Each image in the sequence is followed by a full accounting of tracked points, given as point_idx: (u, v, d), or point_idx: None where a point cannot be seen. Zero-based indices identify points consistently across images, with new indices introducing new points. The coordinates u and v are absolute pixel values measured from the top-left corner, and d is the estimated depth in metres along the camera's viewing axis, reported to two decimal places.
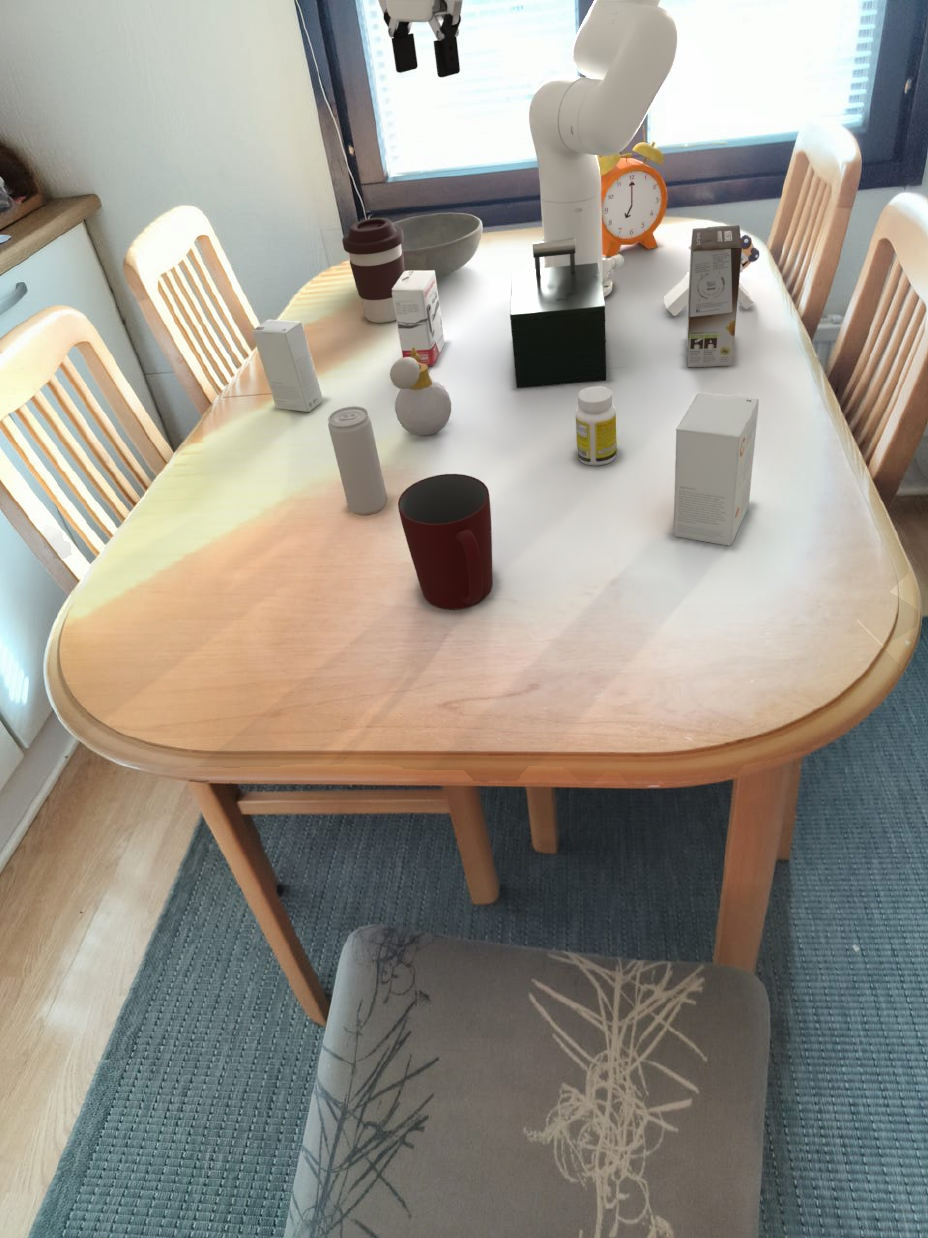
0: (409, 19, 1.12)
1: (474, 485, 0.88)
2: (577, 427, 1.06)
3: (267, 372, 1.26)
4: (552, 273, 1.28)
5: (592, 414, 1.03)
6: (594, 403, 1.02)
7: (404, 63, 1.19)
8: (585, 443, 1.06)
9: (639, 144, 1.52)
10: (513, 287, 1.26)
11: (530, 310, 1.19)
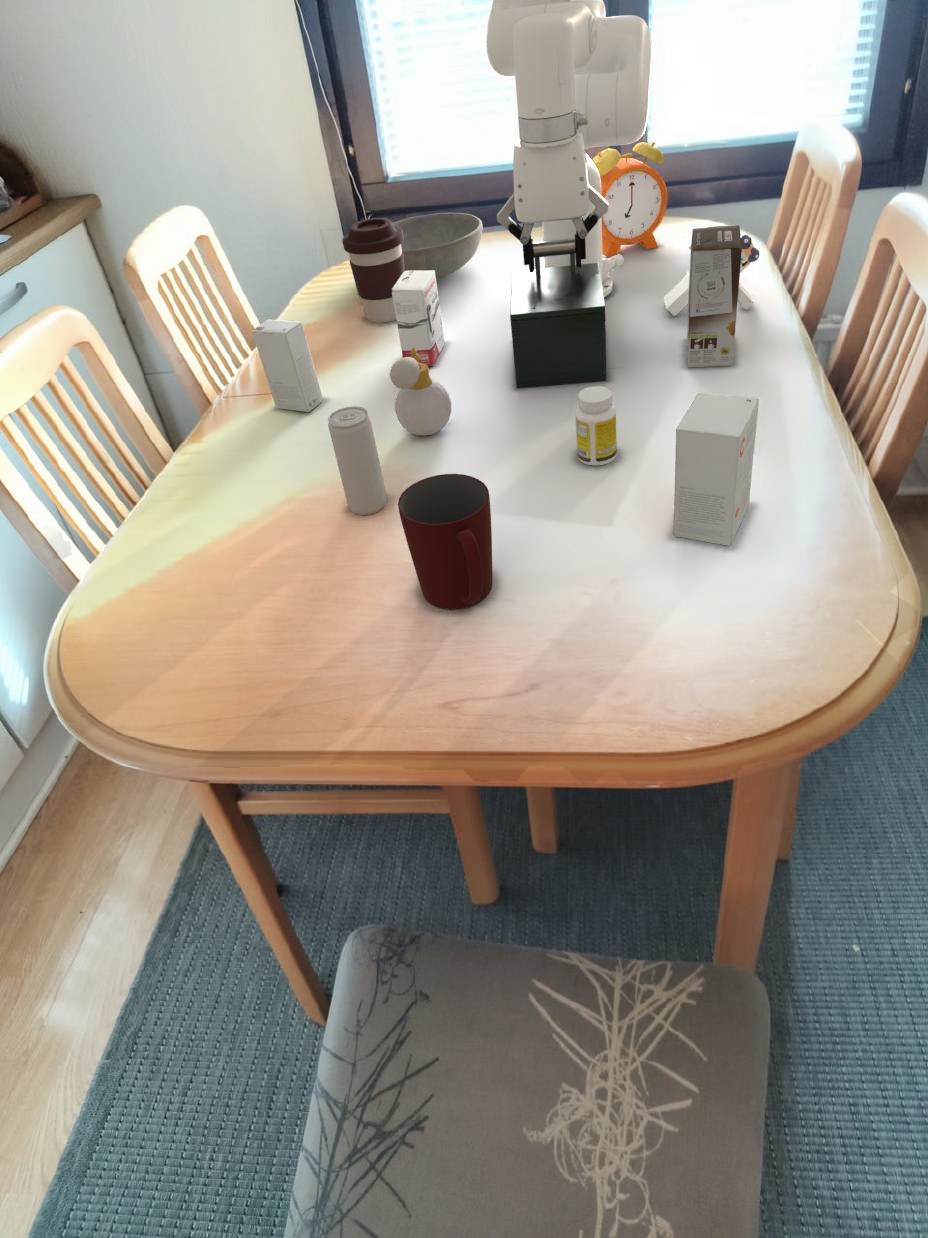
0: (555, 219, 1.22)
1: (474, 485, 0.88)
2: (577, 427, 1.06)
3: (267, 372, 1.26)
4: (552, 273, 1.28)
5: (592, 414, 1.03)
6: (594, 403, 1.02)
7: None
8: (585, 443, 1.06)
9: (639, 144, 1.52)
10: (513, 287, 1.26)
11: (530, 310, 1.19)
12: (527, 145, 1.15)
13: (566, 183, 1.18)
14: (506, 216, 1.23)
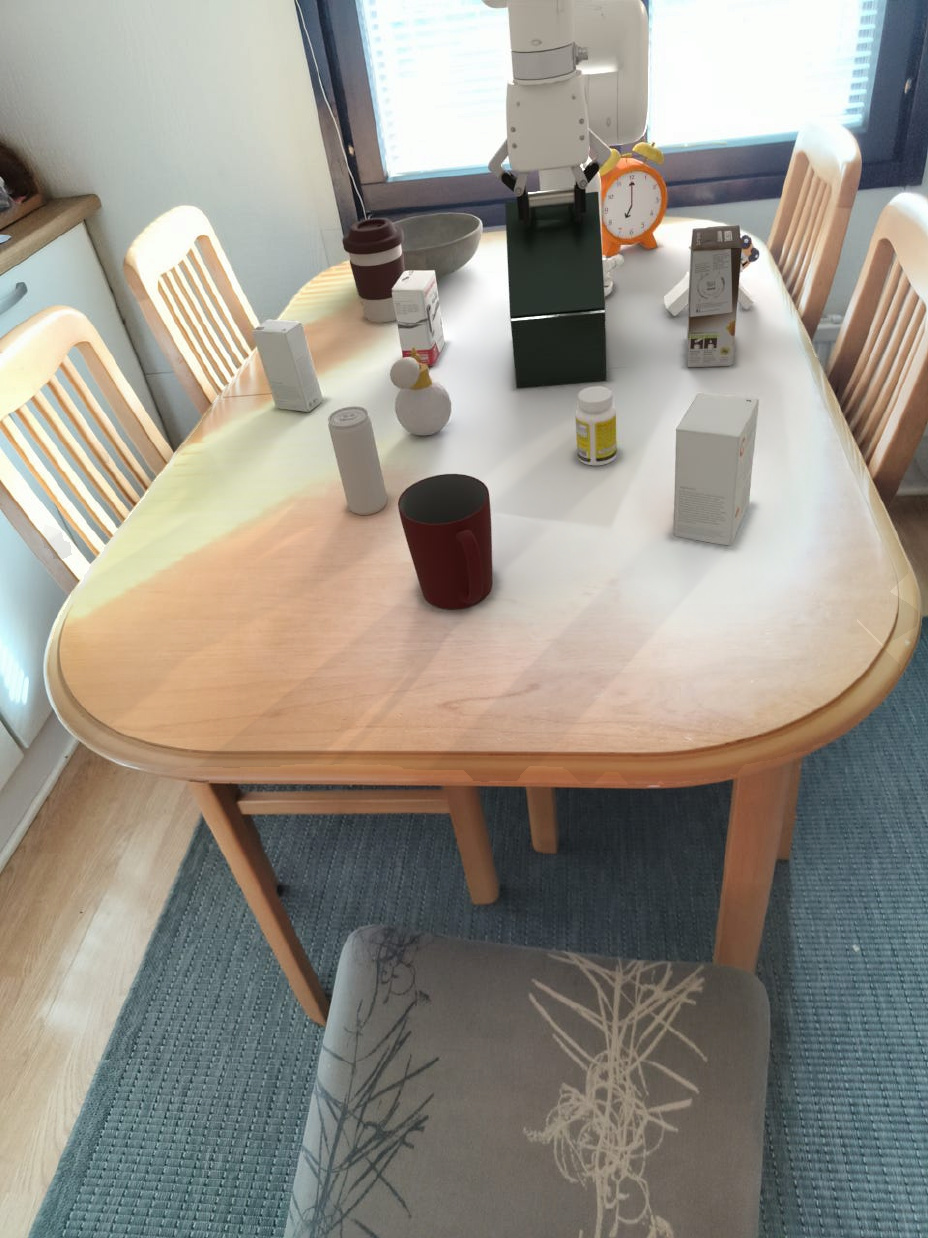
0: (552, 167, 1.11)
1: (474, 485, 0.88)
2: (577, 427, 1.06)
3: (267, 372, 1.26)
4: (549, 214, 1.19)
5: (592, 414, 1.03)
6: (594, 403, 1.02)
7: (529, 218, 1.16)
8: (585, 443, 1.06)
9: (639, 144, 1.52)
10: (508, 246, 1.19)
11: (530, 308, 1.18)
12: (521, 82, 1.04)
13: (564, 126, 1.07)
14: (498, 164, 1.12)
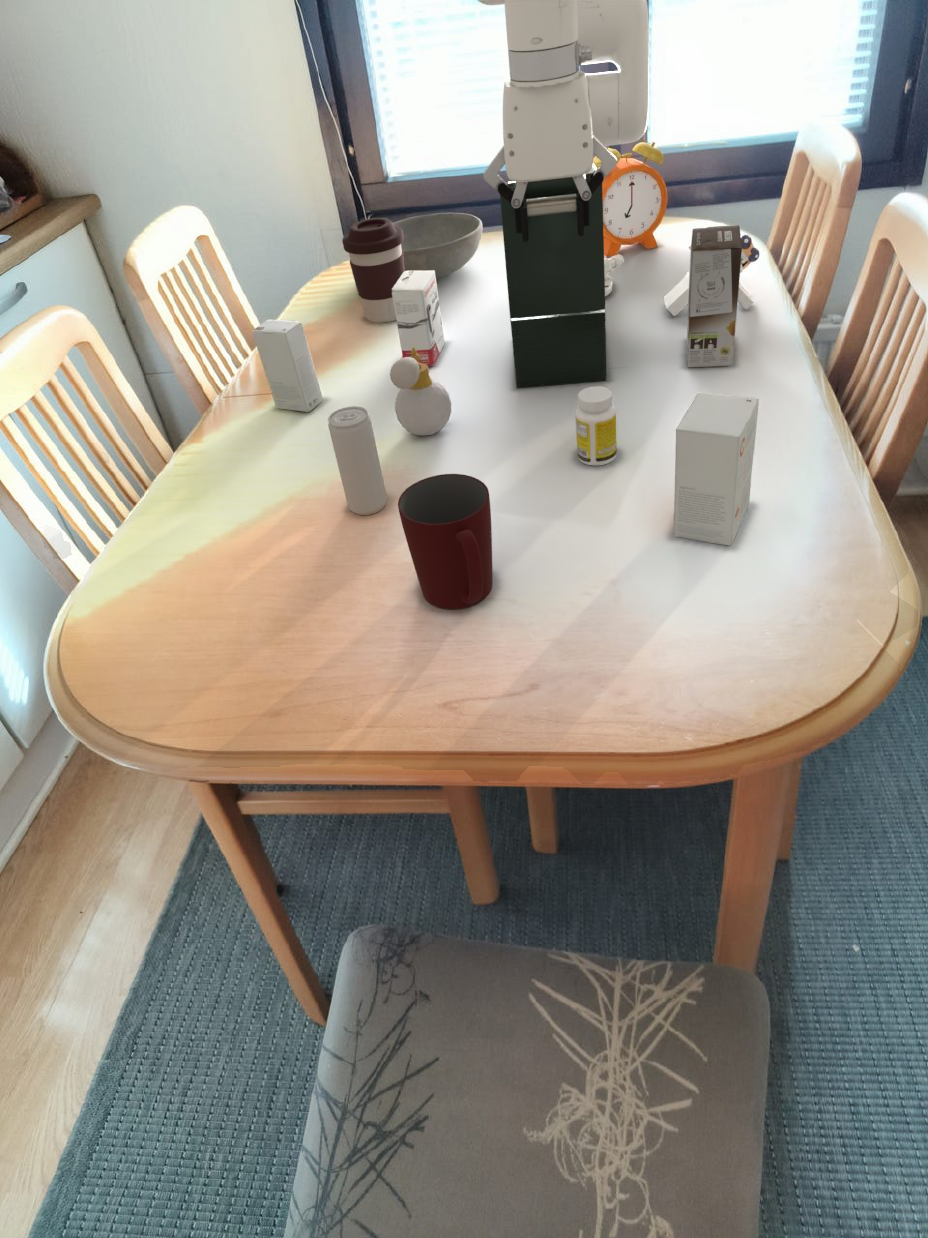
0: (553, 177, 1.02)
1: (474, 485, 0.88)
2: (577, 427, 1.06)
3: (267, 372, 1.26)
4: None
5: (592, 414, 1.03)
6: (594, 403, 1.02)
7: None
8: (585, 443, 1.06)
9: (639, 144, 1.52)
10: (505, 240, 1.13)
11: (530, 310, 1.18)
12: (519, 85, 0.95)
13: (566, 132, 0.98)
14: (495, 174, 1.03)
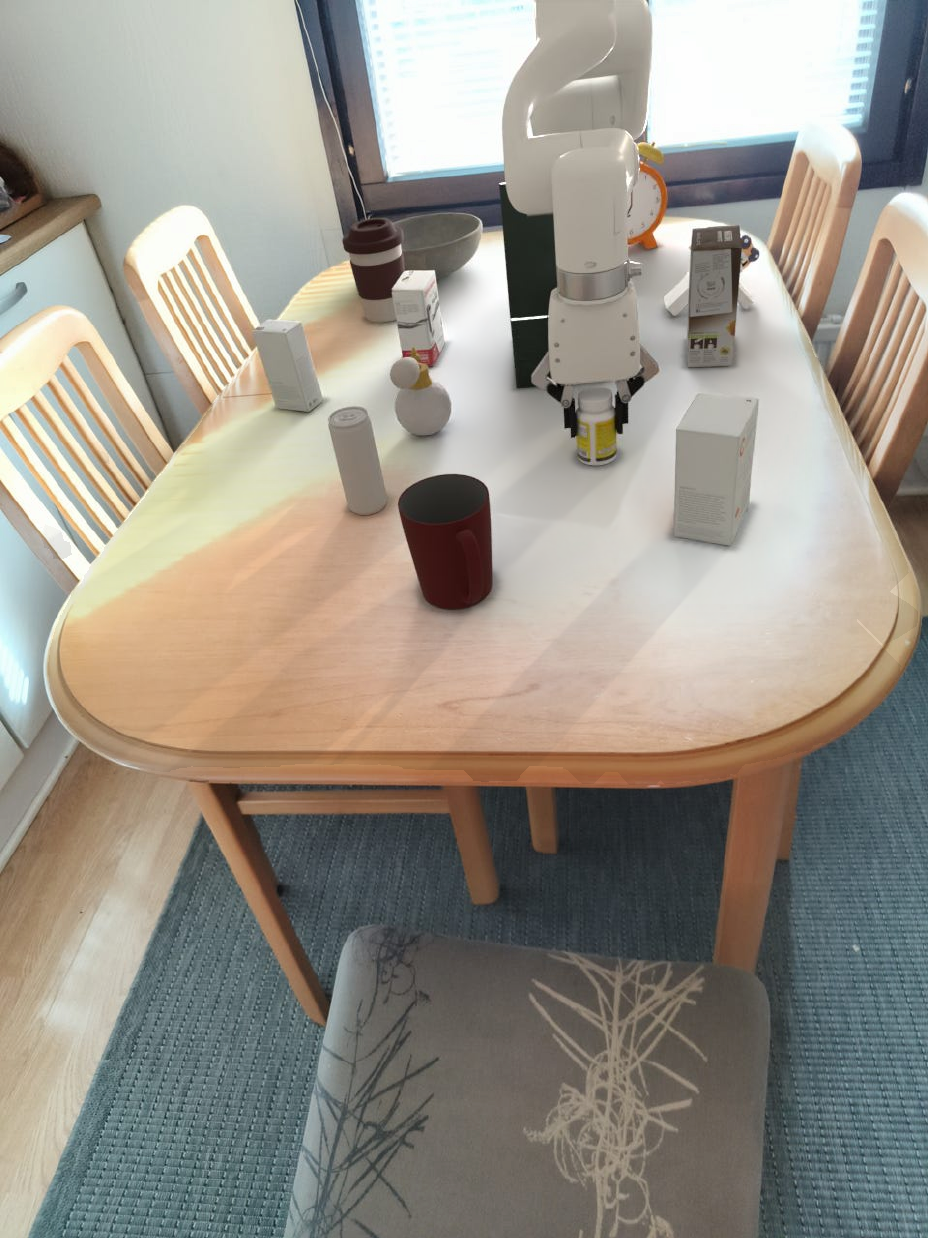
0: (599, 381, 1.00)
1: (474, 485, 0.88)
2: (577, 427, 1.06)
3: (267, 372, 1.26)
4: None
5: (592, 414, 1.03)
6: (594, 403, 1.02)
7: None
8: (585, 443, 1.06)
9: (639, 144, 1.52)
10: (505, 240, 1.13)
11: (530, 310, 1.18)
12: (567, 301, 0.94)
13: (613, 343, 0.97)
14: (543, 377, 1.02)
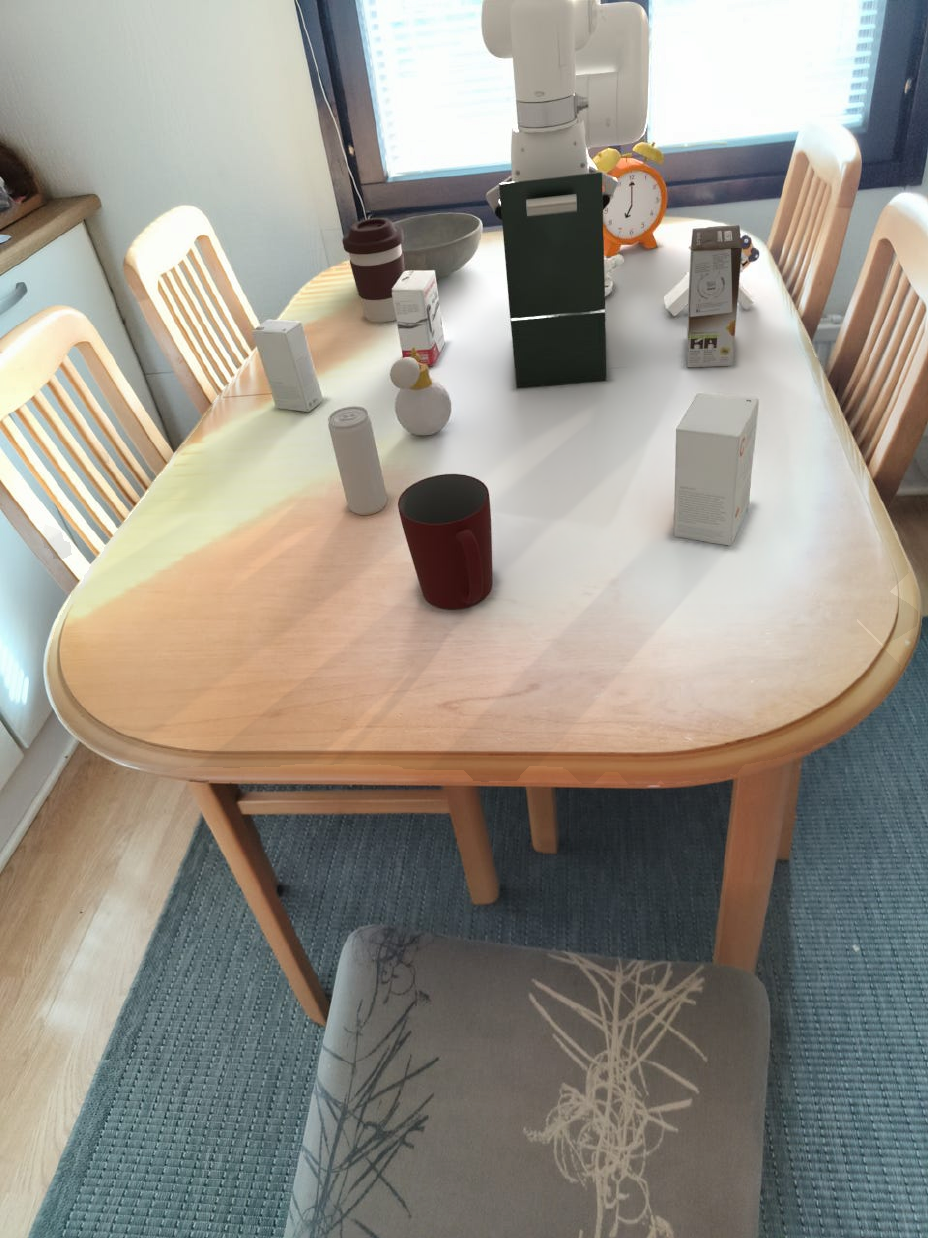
0: None
1: (474, 485, 0.88)
2: None
3: (267, 372, 1.26)
4: None
5: None
6: None
7: None
8: None
9: (639, 144, 1.52)
10: (505, 240, 1.13)
11: (530, 310, 1.18)
12: (525, 130, 1.10)
13: (566, 170, 1.13)
14: (496, 197, 1.18)
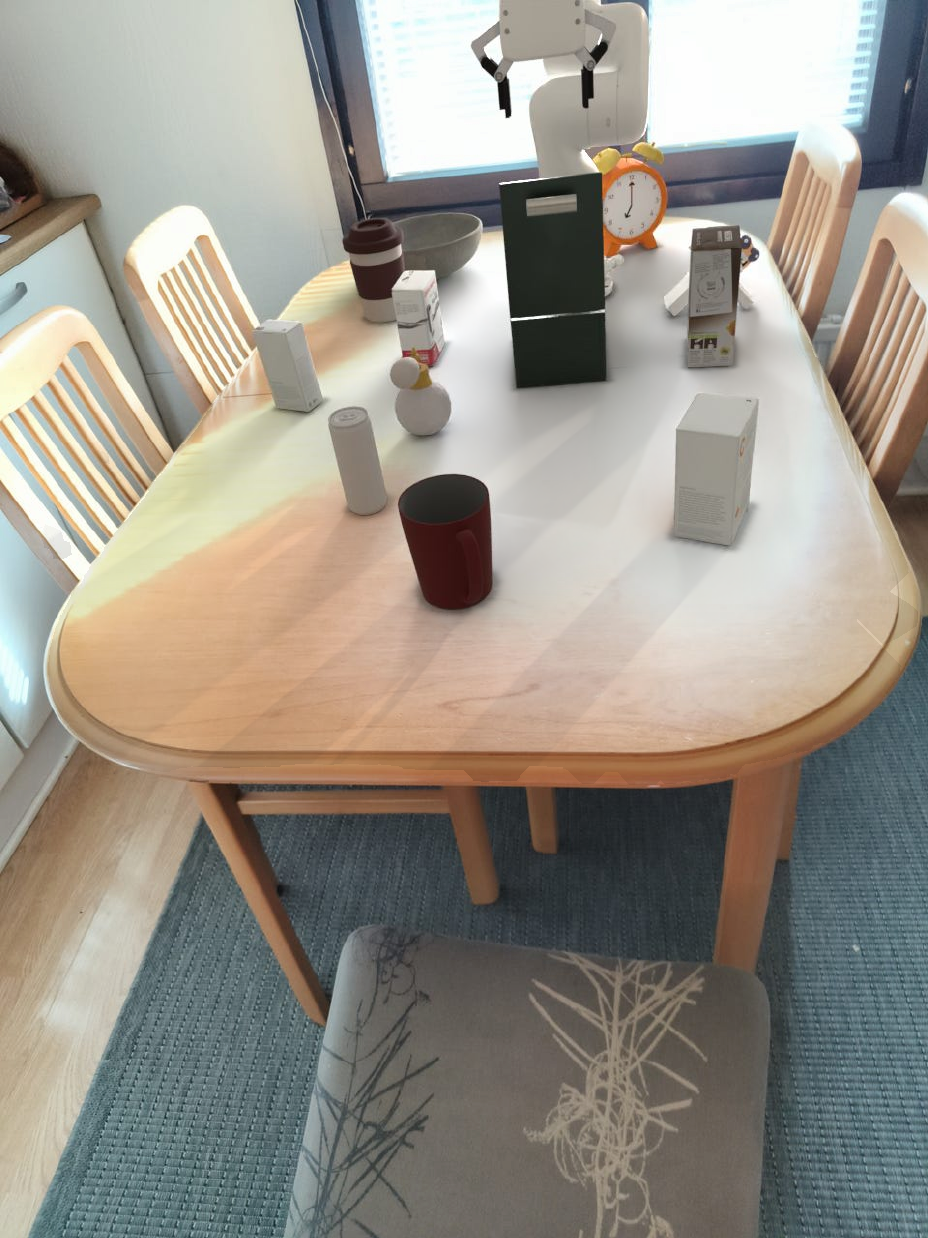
0: (547, 55, 1.06)
1: (474, 485, 0.88)
2: None
3: (267, 372, 1.26)
4: None
5: None
6: None
7: (510, 107, 1.11)
8: None
9: (639, 144, 1.52)
10: (505, 240, 1.13)
11: (530, 310, 1.18)
12: None
13: (559, 8, 1.02)
14: (482, 45, 1.06)
